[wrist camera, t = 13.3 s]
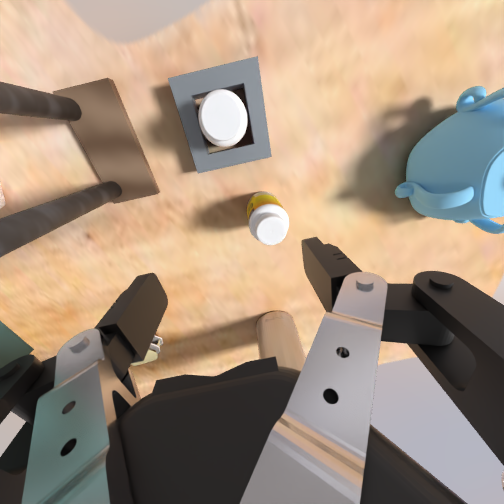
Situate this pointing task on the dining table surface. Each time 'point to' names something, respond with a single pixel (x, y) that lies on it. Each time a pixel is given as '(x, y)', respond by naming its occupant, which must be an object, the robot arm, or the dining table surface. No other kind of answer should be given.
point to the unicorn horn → (1, 198)
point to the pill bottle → (223, 118)
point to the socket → (228, 79)
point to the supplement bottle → (267, 218)
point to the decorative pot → (461, 164)
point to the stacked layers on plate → (152, 351)
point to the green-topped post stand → (100, 154)
